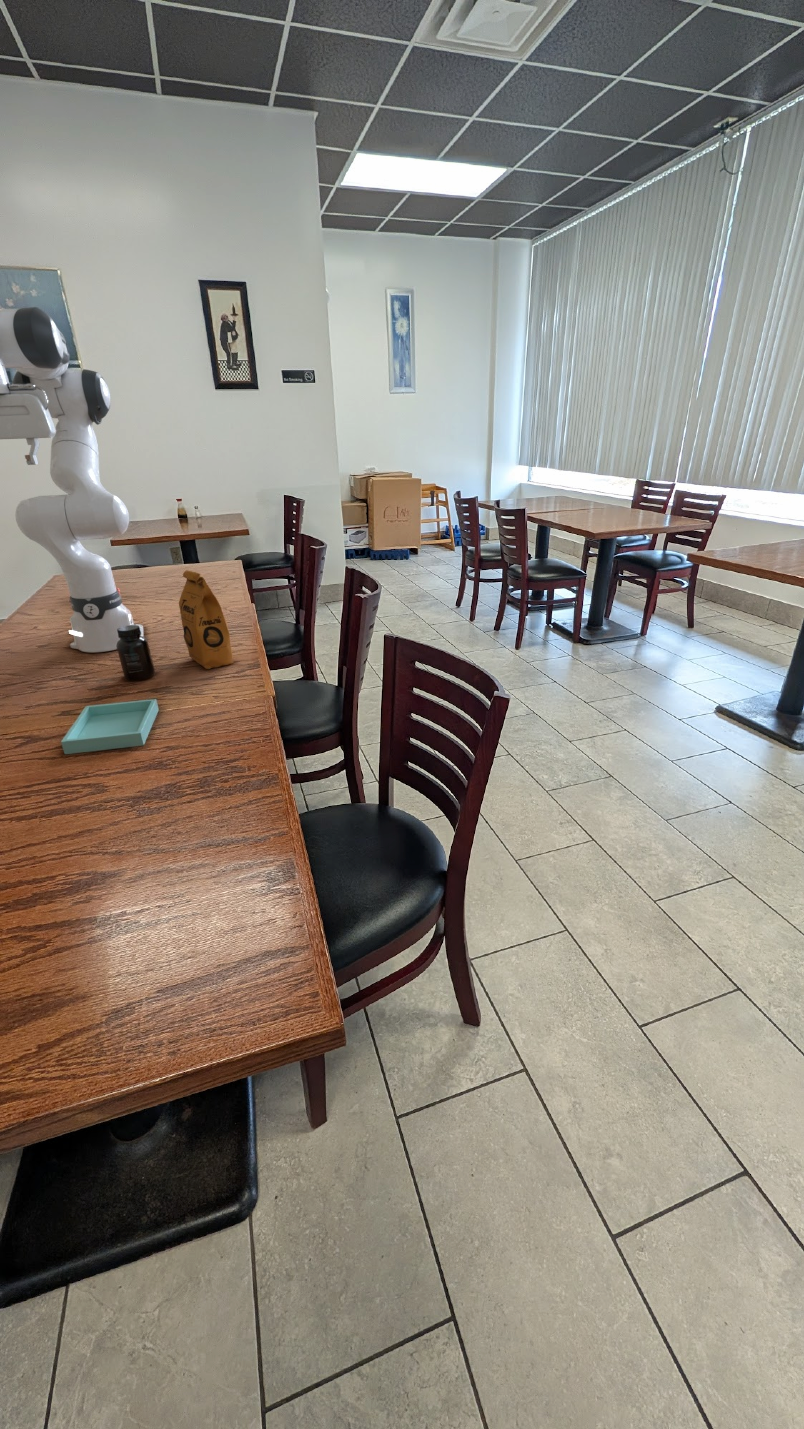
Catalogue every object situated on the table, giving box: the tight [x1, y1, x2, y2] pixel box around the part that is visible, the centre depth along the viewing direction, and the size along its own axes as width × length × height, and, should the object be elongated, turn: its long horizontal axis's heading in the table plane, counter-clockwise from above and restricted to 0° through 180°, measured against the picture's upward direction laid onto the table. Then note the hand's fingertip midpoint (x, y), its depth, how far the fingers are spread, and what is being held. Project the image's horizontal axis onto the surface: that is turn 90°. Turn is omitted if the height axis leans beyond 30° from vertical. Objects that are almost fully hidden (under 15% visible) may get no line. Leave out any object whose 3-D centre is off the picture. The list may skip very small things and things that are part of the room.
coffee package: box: [178, 569, 234, 670], centre depth 142 cm, size 10×12×22 cm
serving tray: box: [60, 698, 160, 755], centre depth 113 cm, size 16×14×3 cm
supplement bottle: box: [116, 625, 156, 682], centre depth 136 cm, size 7×7×12 cm
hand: (6, 465), depth 114 cm, fingers open, 8 cm apart
